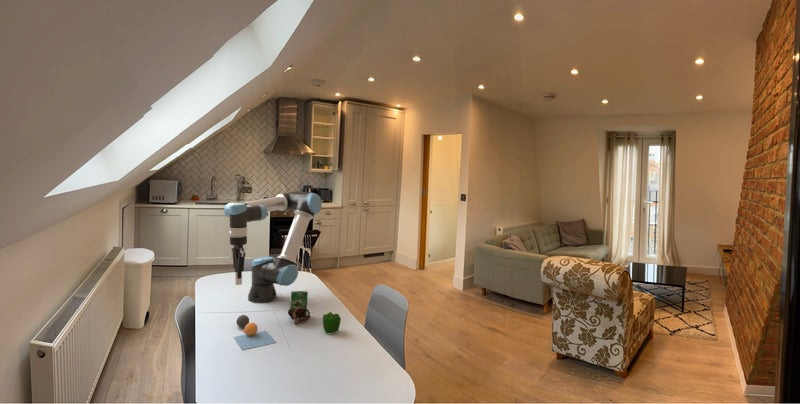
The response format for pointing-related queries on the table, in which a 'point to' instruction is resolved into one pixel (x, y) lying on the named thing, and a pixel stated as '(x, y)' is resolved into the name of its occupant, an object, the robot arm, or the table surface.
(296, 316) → the pottery mug
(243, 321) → the black ball
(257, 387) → the table surface
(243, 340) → the blue mark
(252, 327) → the orange ball
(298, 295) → the coffee box
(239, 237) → the robot arm
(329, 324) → the bell pepper
